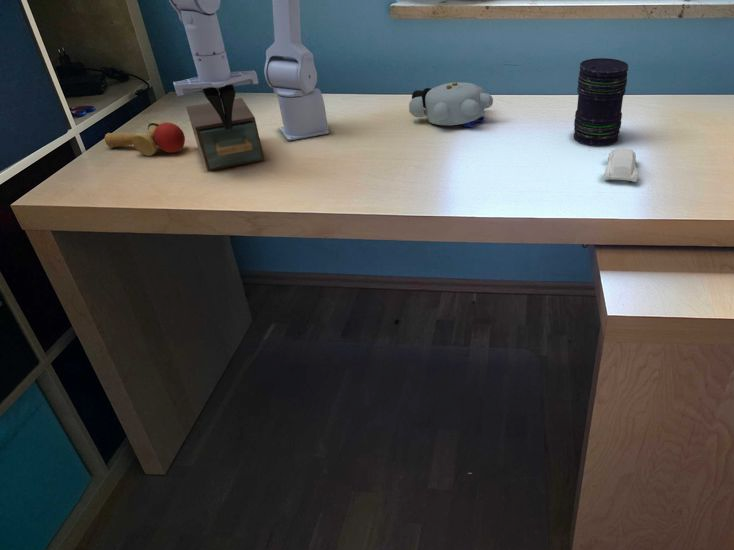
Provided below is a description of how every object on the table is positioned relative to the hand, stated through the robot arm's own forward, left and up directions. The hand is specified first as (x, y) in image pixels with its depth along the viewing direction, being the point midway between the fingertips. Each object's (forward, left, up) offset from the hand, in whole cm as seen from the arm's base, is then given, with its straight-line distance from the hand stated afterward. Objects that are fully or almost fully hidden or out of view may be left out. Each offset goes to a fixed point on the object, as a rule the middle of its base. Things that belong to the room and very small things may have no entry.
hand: (228, 127), depth 122 cm
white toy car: (-66, +36, -9) cm, 76 cm away
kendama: (+16, -21, -9) cm, 27 cm away
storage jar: (-72, +19, -9) cm, 76 cm away
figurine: (-50, -7, -9) cm, 51 cm away
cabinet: (0, -10, -9) cm, 13 cm away
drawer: (0, -6, -8) cm, 10 cm away
